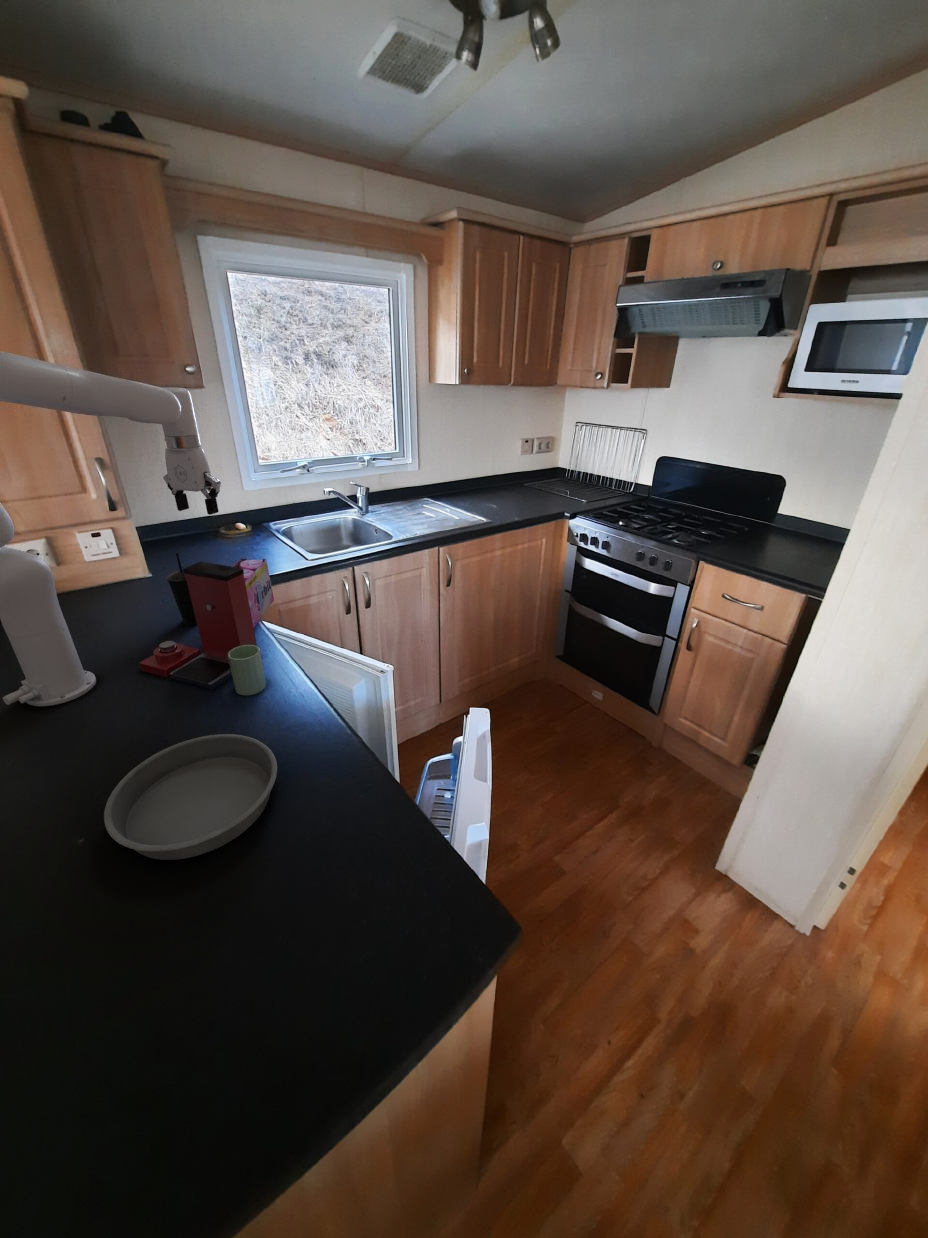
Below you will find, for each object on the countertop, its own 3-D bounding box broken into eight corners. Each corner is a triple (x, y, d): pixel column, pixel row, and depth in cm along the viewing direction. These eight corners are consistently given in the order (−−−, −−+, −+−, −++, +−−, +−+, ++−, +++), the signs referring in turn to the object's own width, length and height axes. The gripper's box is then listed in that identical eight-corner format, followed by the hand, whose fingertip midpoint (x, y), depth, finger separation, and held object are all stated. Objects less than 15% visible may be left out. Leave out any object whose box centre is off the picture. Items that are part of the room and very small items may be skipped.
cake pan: (168, 750, 94) (162, 731, 92) (300, 755, 93) (297, 735, 91) (72, 868, 72) (61, 845, 70) (244, 875, 71) (238, 852, 69)
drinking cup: (196, 629, 136) (179, 558, 128) (171, 626, 138) (153, 556, 129) (214, 617, 143) (199, 549, 134) (190, 614, 145) (174, 547, 136)
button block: (167, 677, 115) (163, 662, 113) (141, 670, 118) (136, 656, 116) (201, 657, 124) (198, 642, 122) (176, 651, 126) (173, 636, 124)
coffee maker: (212, 690, 111) (189, 593, 101) (170, 678, 115) (143, 584, 105) (260, 657, 124) (243, 568, 114) (220, 648, 128) (200, 561, 117)
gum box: (250, 598, 155) (242, 556, 149) (276, 598, 155) (269, 556, 149) (218, 635, 133) (208, 588, 127) (249, 635, 134) (240, 588, 128)
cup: (252, 698, 109) (245, 662, 105) (228, 691, 111) (220, 656, 107) (272, 682, 114) (266, 647, 110) (249, 676, 116) (242, 642, 112)
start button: (168, 655, 117) (166, 648, 116) (157, 652, 118) (155, 645, 117) (179, 648, 120) (177, 642, 119) (169, 646, 121) (167, 639, 120)
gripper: (143, 442, 124) (160, 511, 131) (199, 446, 119) (214, 518, 126) (168, 438, 130) (183, 505, 137) (223, 442, 125) (235, 511, 133)
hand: (198, 511), depth 132 cm, fingers open, 9 cm apart
